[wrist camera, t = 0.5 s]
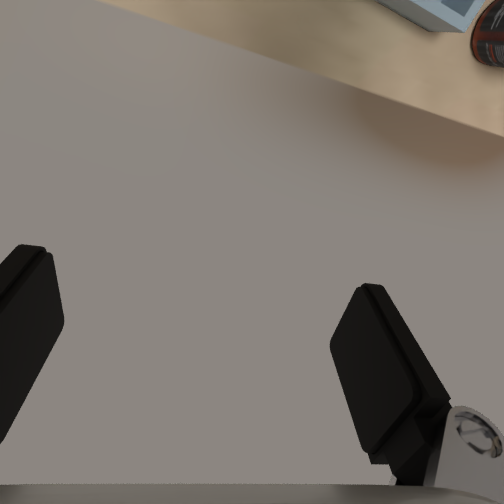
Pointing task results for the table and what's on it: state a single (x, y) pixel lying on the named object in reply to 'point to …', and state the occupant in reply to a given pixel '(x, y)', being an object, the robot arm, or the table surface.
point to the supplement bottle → (490, 35)
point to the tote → (437, 13)
